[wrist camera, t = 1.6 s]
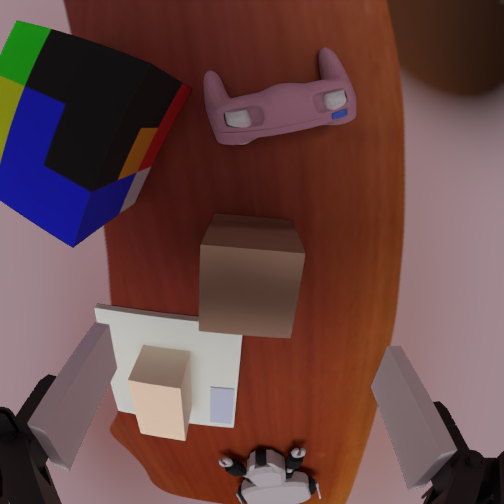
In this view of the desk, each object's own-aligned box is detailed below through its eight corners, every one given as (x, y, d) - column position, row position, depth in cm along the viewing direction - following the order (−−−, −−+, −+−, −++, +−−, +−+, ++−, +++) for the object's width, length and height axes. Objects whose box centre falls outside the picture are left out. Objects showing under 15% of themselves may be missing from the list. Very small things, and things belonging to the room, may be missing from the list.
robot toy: (215, 443, 37) (244, 491, 41) (211, 468, 33) (243, 513, 37) (306, 430, 36) (319, 481, 40) (309, 456, 31) (322, 503, 36)
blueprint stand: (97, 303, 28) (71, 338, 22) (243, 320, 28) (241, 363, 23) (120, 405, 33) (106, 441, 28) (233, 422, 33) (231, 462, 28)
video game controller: (215, 122, 23) (216, 168, 19) (198, 70, 20) (193, 101, 15) (337, 96, 22) (373, 135, 18) (330, 43, 19) (370, 67, 14)
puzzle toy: (134, 203, 24) (73, 248, 15) (45, 153, 22) (-35, 174, 13) (192, 89, 21) (150, 63, 12) (91, 47, 19) (16, 20, 10)
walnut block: (214, 213, 24) (200, 244, 18) (291, 219, 25) (305, 253, 18) (211, 282, 27) (198, 331, 20) (282, 288, 27) (290, 338, 20)
